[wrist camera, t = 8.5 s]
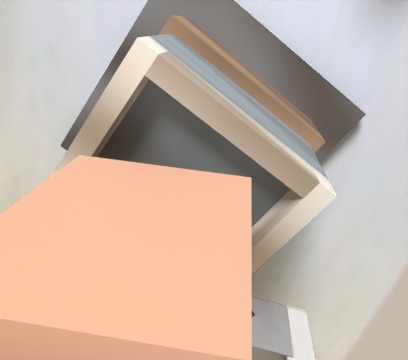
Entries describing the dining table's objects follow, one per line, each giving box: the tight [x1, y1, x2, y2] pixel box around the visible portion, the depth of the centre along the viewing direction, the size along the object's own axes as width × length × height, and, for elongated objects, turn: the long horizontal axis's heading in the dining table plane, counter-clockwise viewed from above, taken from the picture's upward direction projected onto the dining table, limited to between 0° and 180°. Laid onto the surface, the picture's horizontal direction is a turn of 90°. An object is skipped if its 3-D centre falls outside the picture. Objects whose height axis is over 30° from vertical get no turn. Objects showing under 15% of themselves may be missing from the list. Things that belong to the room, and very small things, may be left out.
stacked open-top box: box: [53, 0, 366, 274], centre depth 18 cm, size 14×14×12 cm
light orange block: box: [0, 155, 252, 360], centre depth 8 cm, size 5×5×6 cm
